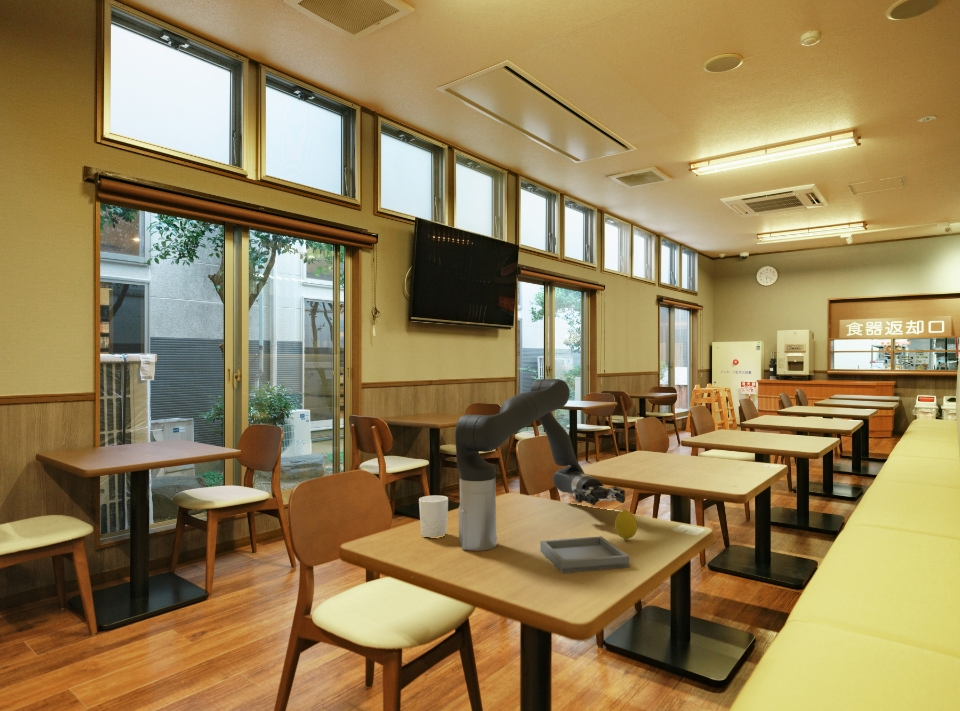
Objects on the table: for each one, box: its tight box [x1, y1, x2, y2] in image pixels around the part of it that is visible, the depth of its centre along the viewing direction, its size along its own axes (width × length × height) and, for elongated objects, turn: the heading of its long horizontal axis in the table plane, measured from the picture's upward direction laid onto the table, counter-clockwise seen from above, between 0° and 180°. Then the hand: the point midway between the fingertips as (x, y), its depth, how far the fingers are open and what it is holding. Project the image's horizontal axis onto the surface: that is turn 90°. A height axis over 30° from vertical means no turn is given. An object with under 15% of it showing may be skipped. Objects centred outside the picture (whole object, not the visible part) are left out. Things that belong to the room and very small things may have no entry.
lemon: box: [614, 509, 638, 541], centre depth 154 cm, size 6×6×8 cm
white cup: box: [418, 494, 449, 537], centre depth 161 cm, size 8×8×10 cm
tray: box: [539, 535, 631, 574], centre depth 140 cm, size 16×16×2 cm
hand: (608, 500), depth 165 cm, fingers open, 8 cm apart
